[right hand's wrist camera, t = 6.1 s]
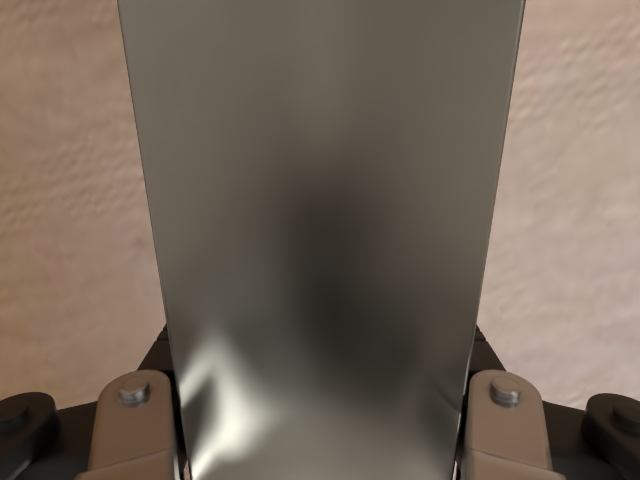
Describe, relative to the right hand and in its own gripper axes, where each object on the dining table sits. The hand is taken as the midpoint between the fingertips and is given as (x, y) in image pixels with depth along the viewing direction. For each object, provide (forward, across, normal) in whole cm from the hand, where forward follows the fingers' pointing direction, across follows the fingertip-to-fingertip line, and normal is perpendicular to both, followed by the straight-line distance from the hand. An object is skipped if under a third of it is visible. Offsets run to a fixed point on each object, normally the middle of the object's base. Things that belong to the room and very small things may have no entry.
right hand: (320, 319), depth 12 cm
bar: (+4, 0, -8) cm, 9 cm away
